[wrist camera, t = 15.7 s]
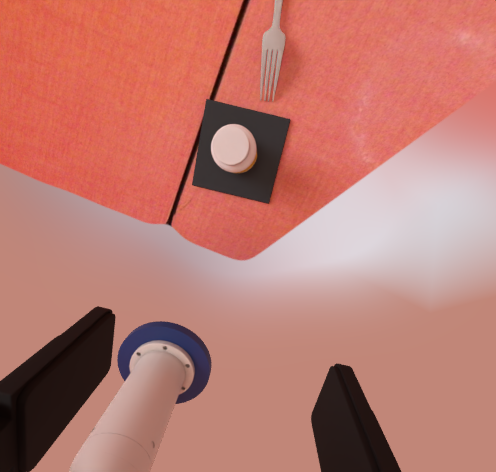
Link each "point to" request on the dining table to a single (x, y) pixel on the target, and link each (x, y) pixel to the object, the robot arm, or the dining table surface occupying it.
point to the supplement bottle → (234, 148)
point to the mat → (268, 151)
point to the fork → (275, 42)
